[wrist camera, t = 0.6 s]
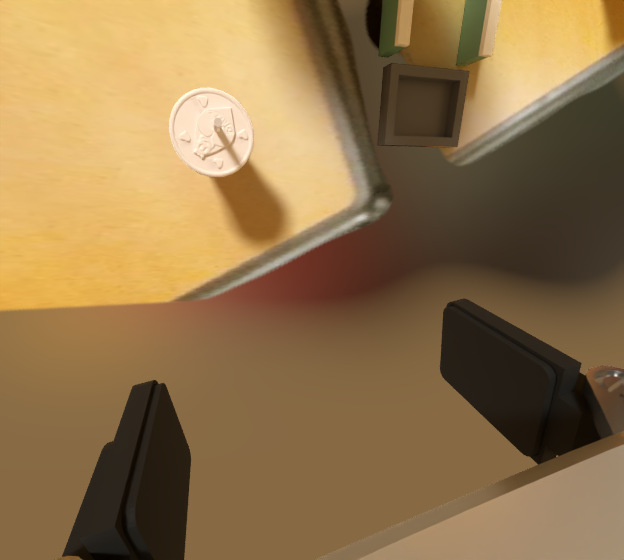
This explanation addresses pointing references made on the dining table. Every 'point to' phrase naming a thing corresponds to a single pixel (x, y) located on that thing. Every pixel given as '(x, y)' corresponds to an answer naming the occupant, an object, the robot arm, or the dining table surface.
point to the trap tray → (421, 106)
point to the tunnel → (474, 32)
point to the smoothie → (211, 132)
